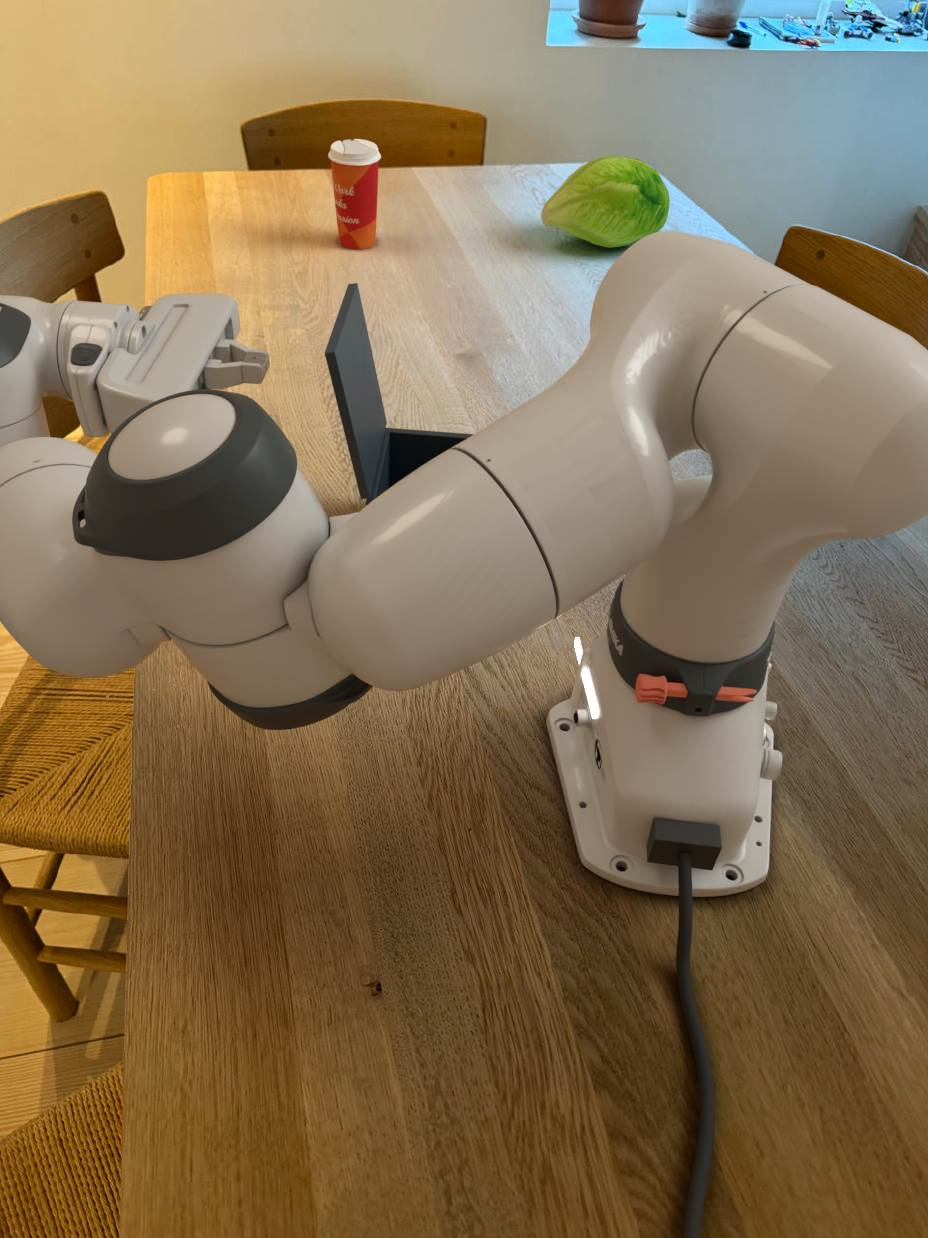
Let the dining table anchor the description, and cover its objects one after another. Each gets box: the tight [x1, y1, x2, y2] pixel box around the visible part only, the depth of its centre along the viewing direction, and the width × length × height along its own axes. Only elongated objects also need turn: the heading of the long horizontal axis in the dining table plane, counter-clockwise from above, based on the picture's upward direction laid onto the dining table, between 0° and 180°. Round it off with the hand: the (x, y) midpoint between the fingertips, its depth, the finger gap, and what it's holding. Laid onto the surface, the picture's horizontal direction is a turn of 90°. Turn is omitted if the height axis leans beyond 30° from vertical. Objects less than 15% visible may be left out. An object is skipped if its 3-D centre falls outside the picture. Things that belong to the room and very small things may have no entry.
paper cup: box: [327, 138, 382, 250], centre depth 143 cm, size 8×8×14 cm
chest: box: [365, 427, 475, 507], centre depth 94 cm, size 14×13×9 cm
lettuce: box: [540, 155, 670, 249], centre depth 147 cm, size 15×20×14 cm
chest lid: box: [324, 282, 388, 500], centre depth 86 cm, size 14×13×1 cm
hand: (266, 367), depth 85 cm, fingers closed
